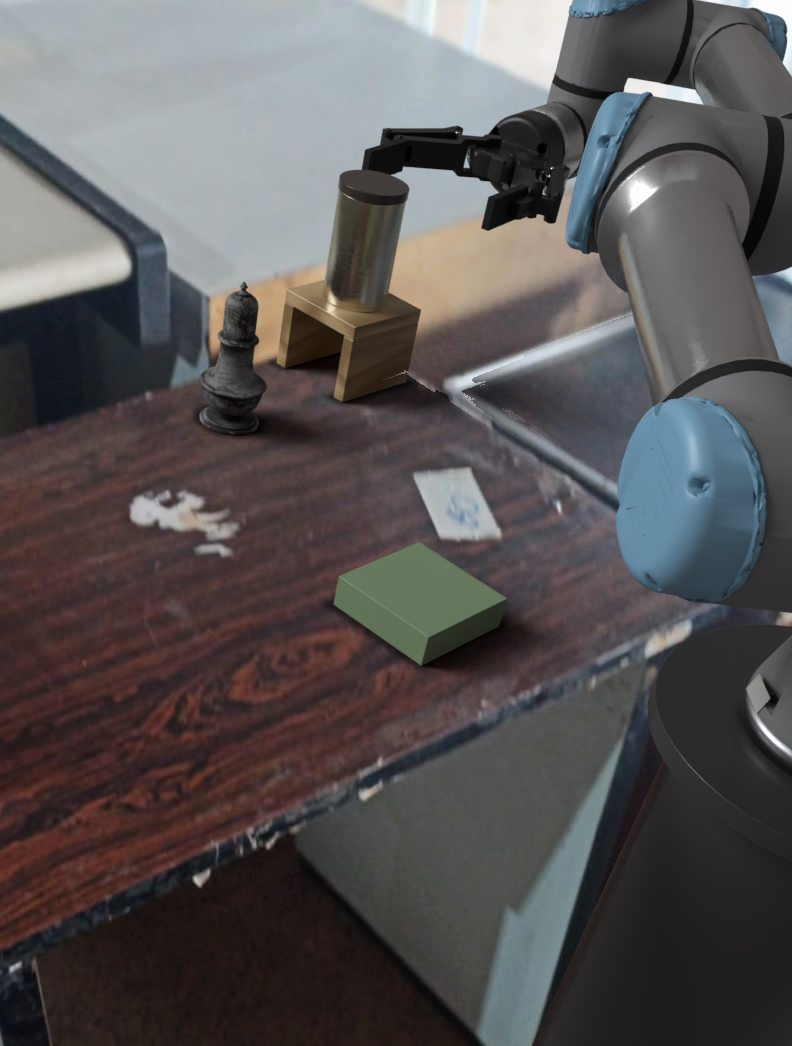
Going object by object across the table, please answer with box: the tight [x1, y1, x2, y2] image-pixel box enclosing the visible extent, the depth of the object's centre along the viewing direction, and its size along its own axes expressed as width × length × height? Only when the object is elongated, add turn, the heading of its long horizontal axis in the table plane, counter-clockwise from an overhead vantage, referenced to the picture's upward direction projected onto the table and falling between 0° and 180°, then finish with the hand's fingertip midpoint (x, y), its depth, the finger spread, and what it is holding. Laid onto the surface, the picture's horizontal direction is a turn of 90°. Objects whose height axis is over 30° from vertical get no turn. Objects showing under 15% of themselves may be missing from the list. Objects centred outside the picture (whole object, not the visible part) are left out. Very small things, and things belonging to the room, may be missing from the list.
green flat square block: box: [333, 541, 508, 667], centre depth 95 cm, size 9×9×2 cm
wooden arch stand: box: [276, 279, 422, 403], centre depth 121 cm, size 9×9×7 cm
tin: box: [323, 169, 410, 313], centre depth 115 cm, size 6×6×10 cm
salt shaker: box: [199, 281, 268, 436], centre depth 109 cm, size 6×6×12 cm
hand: (425, 189), depth 119 cm, fingers open, 13 cm apart
